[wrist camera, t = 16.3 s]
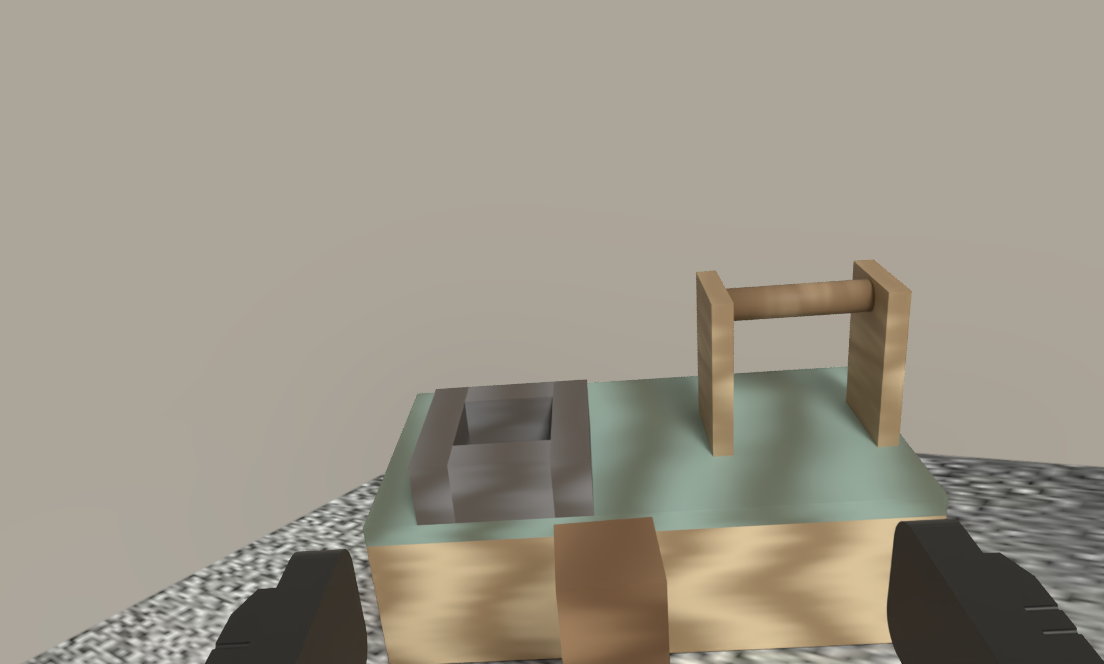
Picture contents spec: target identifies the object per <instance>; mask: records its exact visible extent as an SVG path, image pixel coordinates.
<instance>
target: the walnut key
mask: <svg viewBox="0 0 1104 664" xmlns="http://www.w3.org/2000/svg"><path fill="white" fill-rule="evenodd" d="M554 555H555V587H556V599H557V609H558V619H559V630H560V640H561V650H562V660H563V664H670V651H669V623H668V596H667V579H666V575H665V570H664V566H663V561H662V557H661V553H660V548H659V544H658V540H657V535H656V531H655V526H654V522H653V518H652V517H643V518H630V519H617V520H605V521H592V522H579V523H566V524H554Z"/></svg>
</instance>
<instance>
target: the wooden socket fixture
mask: <svg viewBox="0 0 1104 664" xmlns="http://www.w3.org/2000/svg"><path fill="white" fill-rule="evenodd" d="M696 280H697V281H696V283H697V284H696V285H697V341H698V343H697V344H698V376H689V377H673V378H659V379H658V378H657V379H643V380H627V381H611V382H594V383H587V380H573V381H557V382H542V383H526V384H511V385H496V386H495V385H494V386H479V387H463V388H448V389H436V391H435V393H421V394H417V396H416V399H415V401H414V404H413V406H412V409H411V411H410V414H409V416H408V419H407V421H406V424H405V426H404V429H403V431H402V433H401V436H400V438H399V441H398V443H397V446H396V448H395V451H394V453H393V456H392V458H391V460H390V463H389V465H388V468H387V470H386V473H385V475H384V478H383V480H382V483H381V485H380V488H379V490H378V492H377V495H376V497H375V500H374V502H373V505H372V507H371V510H370V512H369V515H368V517H367V520H366V522H365V524H364V527H363V532H364V537H365V542H366V547H367V552H368V557H369V562H370V567H371V572H372V578H373V583H374V588H375V593H376V598H377V603H378V608H379V613H380V618H381V623H382V628H383V633H384V639H385V644H386V649H387V654H388V659H389V664H443V663H465V662H487V661H508V660H530V659H552V658H562V650H561V640H560V630H559V619H558V609H557V599H556V587H555V555H554V524H566V523H579V522H592V521H605V520H617V519H630V518H643V517H652V518H653V522H654V526H655V531H656V535H657V540H658V544H659V548H660V553H661V557H662V561H663V566H664V570H665V575H666V579H667V596H668V623H669V651H670V653H682V652H703V651H725V650H747V649H768V648H790V647H812V646H833V645H855V644H876V643H892V641H891V637H890V633H889V628H888V622H887V597H888V587H889V578H890V568H891V559H892V549H893V540H894V532H895V528H896V526H897V524H898V523H899V522H901V521H914V520H933V519H946V514H947V505H948V495H947V494H946V492H945V491H944V490H943V488H942V487H941V486H940V485H939V483H938V482H937V481H936V479H935V478H934V477H933V476H932V474H931V473H930V472H929V470H928V469H927V468H926V466H925V465H924V464H923V463H922V461H921V460H920V459H919V457H918V456H917V455H916V454H915V452H914V451H913V450H912V448H911V447H910V446H909V445H908V443H907V442H906V441H905V439H904V438H903V437H902V436H901V434H900V423H901V410H902V398H903V387H904V375H905V363H906V351H907V338H908V327H909V314H910V303H911V290H910V289H909V288H907V287H906V286H905V285H904V284H903V283H901V282H900V281H899V280H898V279H897V278H895V277H894V276H893V275H892V274H891V273H889V272H888V271H887V270H886V269H884V268H883V267H882V266H881V265H880V264H878V263H877V262H876V261H875V260H861V261H854V265H853V280H846V281H831V282H817V283H803V284H789V285H773V286H760V287H744V288H730V289H726V288H725V287H724V285H723V283H722V281H721V279H720V277H719V276H718V274H717V272H716V271H704V272H696ZM843 313H851V319H850V338H849V356H848V366H846V367H830V368H816V369H799V370H783V371H767V372H753V373H736V374H734V357H733V355H734V336H733V335H734V334H733V333H734V330H733V329H734V321H738V320H754V319H769V318H783V317H798V316H814V315H829V314H843Z"/></svg>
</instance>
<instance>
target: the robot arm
mask: <svg viewBox="0 0 1104 664" xmlns="http://www.w3.org/2000/svg"><path fill="white" fill-rule="evenodd" d="M887 622H888V628H889V633H890V637H891V641H892V644H893V646H894V649H895V651H896V653H897V655H898V657H899V659H900V661H901V663H902V664H1104V661H1103V660H1102V659H1101V657H1100V656H1099V655H1098V654H1097V652H1096V651H1095V650H1094V649H1093V647H1092V646H1091V645H1090V644H1089V643H1088V641H1087V640H1086V639H1085V638H1084V636H1083V635H1082V634H1078V633H1077V628H1076V627H1075V625H1074V624H1073V623H1072V622H1071V620H1070V619H1069V618H1068V617H1067V615H1066V614H1065V613H1064V612H1063V611H1062V610H1059V609H1058V604H1057V603H1056V602H1055V601H1054V599H1053V598H1052V597H1051V596H1050V595H1049V593H1048V592H1047V591H1046V590H1045V588H1044V587H1043V586H1042V585H1041V583H1040V582H1039V581H1038V580H1037V579H1036V577H1035V576H1034V575H1032V574H1031V573H1029V572H1028V571H1026V570H1025V569H1023V568H1022V567H1020V566H1019V565H1017V564H1016V563H1014V562H1013V561H1011V560H1010V559H1008V558H1007V557H1006V556H1004V555H1003V554H1001V553H983V552H982V551H981V550H980V548H979V547H978V546H977V544H976V543H975V542H974V540H973V539H972V538H971V536H970V535H969V534H968V532H967V531H966V530H965V528H964V527H963V526H962V525H961V523H960V522H959V521H957V520H956V519H933V520H914V521H901V522H899V523H898V524H897V526H896V528H895V532H894V540H893V549H892V559H891V568H890V578H889V587H888V597H887ZM366 661H367V632H366V626H365V621H364V616H363V611H362V606H361V602H360V597H359V592H358V587H357V582H356V577H355V572H354V567H353V562H352V558H351V555H350V553H349V552H348V550H346V549H339V550H320V551H301V552H295V553H294V554H293V555H292V557H291V559H290V560H289V563H288V565H287V567H286V569H285V571H284V573H283V575H282V577H281V579H280V581H279V583H278V585H277V587H276V588H267V589H258V590H257V591H256V592H255V593H253V594H252V595H251V596H250V597H249V598H248V599H247V600H246V601H245V602H244V603H243V604H242V605H241V606H240V607H239V608H238V609H237V610H235V611H234V612H233V613H232V614H231V616H230V617H229V619H228V621H227V623H226V625H225V627H224V629H223V631H222V632H221V634H220V636H219V638H218V640H217V642H216V648H215V649H213V650H212V651H211V653H210V655H209V657H208V659H207V661H206V663H205V664H366Z"/></svg>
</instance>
